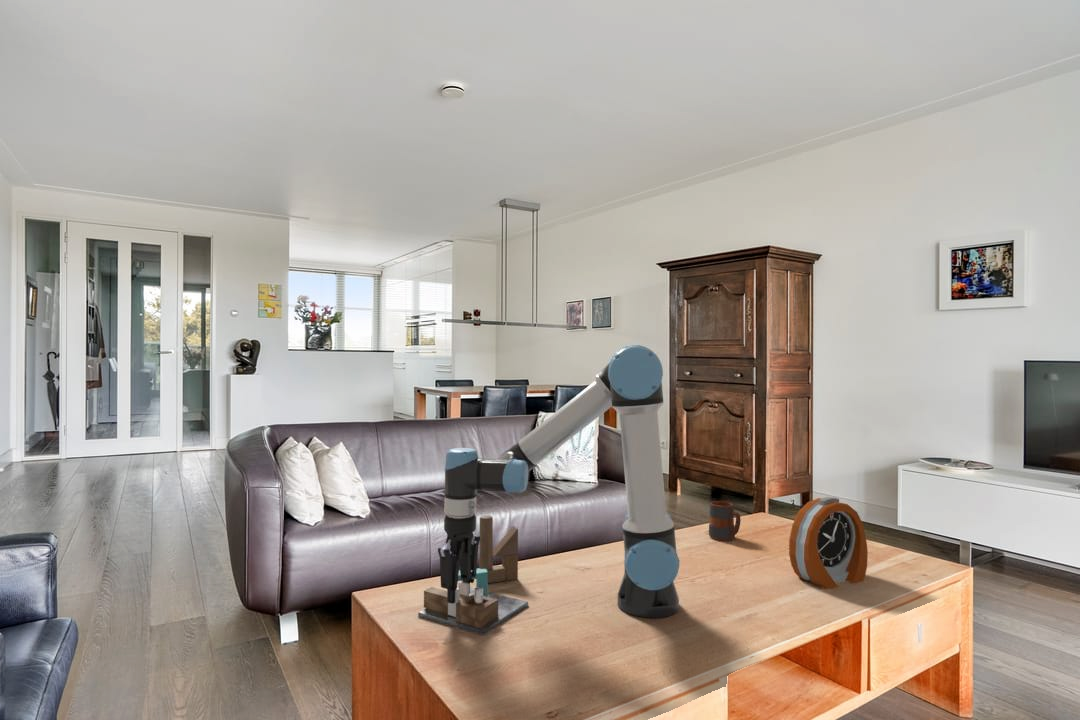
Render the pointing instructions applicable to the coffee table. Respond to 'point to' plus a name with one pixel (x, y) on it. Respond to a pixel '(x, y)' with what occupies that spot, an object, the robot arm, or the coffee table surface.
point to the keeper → (480, 580)
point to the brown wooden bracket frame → (498, 552)
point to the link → (463, 607)
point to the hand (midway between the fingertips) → (458, 612)
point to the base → (502, 614)
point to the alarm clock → (828, 543)
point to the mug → (723, 521)
